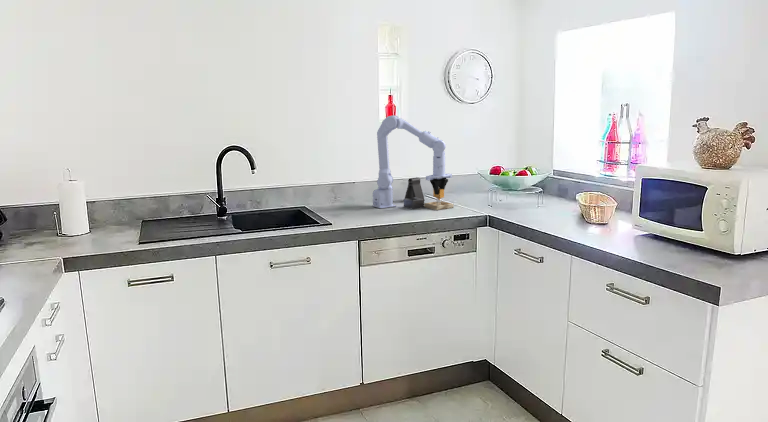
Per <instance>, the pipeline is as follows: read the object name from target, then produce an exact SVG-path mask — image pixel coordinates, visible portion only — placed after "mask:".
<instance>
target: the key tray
mask: <svg viewBox="0 0 768 422" xmlns="http://www.w3.org/2000/svg"><path fill="white" fill-rule="evenodd" d="M454 206H455V205H454V203H451V202H447V201H442V200H441V205H440V206H436V201H429V202H424V208H426V209H429V210H434V211H441V210H442V211H443V210H449V209H454Z"/></svg>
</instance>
